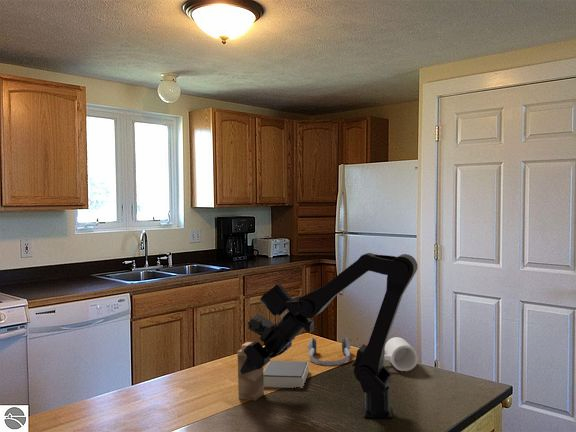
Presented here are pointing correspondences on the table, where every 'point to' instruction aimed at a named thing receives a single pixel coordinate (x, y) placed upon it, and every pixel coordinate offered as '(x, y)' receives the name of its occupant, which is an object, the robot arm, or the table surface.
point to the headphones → (345, 350)
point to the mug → (400, 354)
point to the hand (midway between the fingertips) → (249, 367)
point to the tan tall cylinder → (249, 381)
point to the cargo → (245, 345)
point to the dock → (285, 374)
